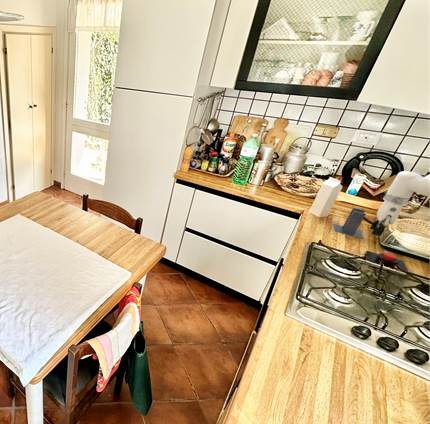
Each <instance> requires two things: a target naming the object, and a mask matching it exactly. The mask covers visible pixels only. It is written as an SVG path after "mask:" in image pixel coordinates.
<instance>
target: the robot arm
mask: <svg viewBox="0 0 430 424" xmlns="http://www.w3.org/2000/svg"><path fill="white" fill-rule="evenodd" d="M414 193H416V194H419V195H422V196H425V197H428V198H430V173H429V174H428V175H425V176H424V177H423V175H421V174H420V173H418V172H414V171H409V170H403V171H399V172H398V173H397V174H396V176H395V177H394V179H393V181H392V183H391V184H390V186H389V188H388V190H387V192H386V193H385V194H384V196H383V198H382V199H383V200H384V201H383V202H382V204H381V205H380V207H379V209H378V210H377V212H376V218H375V219H374V221H373V223H375V224H378V225H377V227H374V226H373V225H371V226H370V230H372V231H371V235H374V236H378V237H381V236H382V235H383V233H384V232H385V230H386V229H387V227H388V226H389V224H390V225H391V226H392V225H394V224H395V222H396V220H397V218H398V217H399V215H400V213H401V211H402V209H403V206H406V205H407V204H408V202H409V200H410V199H411V197H412V196H413V194H414Z"/></svg>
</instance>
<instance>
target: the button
mask: <svg viewBox="0 0 430 424" xmlns="http://www.w3.org/2000/svg"><path fill="white" fill-rule="evenodd" d="M383 253H384V255H383V257H384V258H385V259H387V260H391V261H394V260H395V258H397V256H396V255H395V254H393V253H391V252H383Z"/></svg>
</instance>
